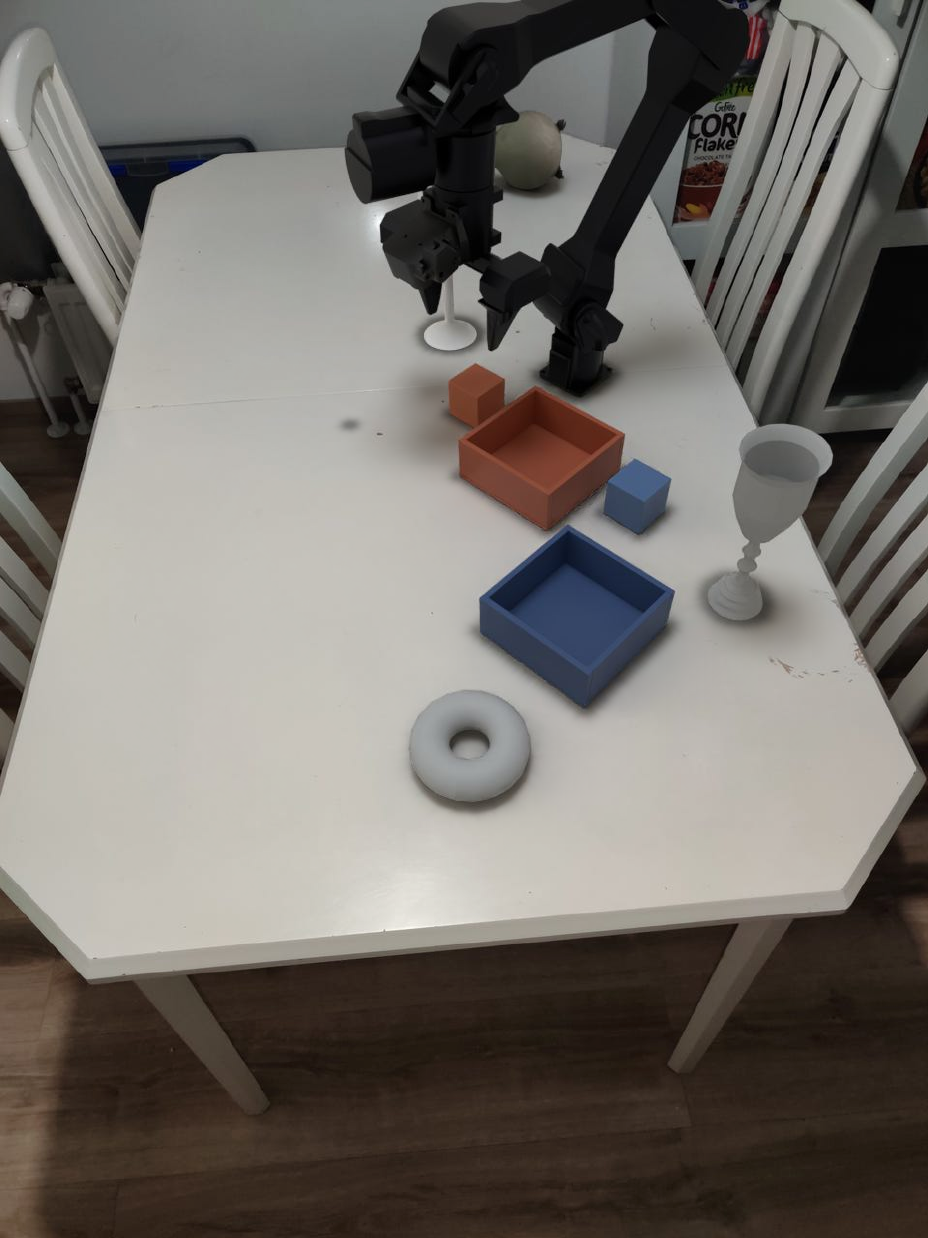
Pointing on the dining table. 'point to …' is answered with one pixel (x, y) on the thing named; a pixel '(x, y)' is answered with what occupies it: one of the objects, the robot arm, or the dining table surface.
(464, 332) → the champagne flute
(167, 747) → the dining table surface
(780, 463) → the chalice
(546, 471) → the terracotta bin
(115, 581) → the dining table surface
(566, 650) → the blue bin
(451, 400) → the terracotta block
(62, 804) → the dining table surface
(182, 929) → the dining table surface
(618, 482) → the blue block
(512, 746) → the donut
